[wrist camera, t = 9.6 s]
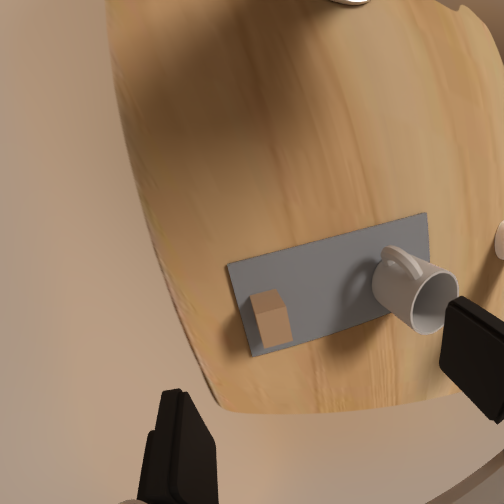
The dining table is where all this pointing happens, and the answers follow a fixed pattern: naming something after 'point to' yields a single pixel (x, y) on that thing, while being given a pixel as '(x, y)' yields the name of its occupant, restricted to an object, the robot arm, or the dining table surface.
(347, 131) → the dining table surface
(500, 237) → the cylindrical container
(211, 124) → the dining table surface
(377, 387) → the dining table surface
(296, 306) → the strip
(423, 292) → the cup
